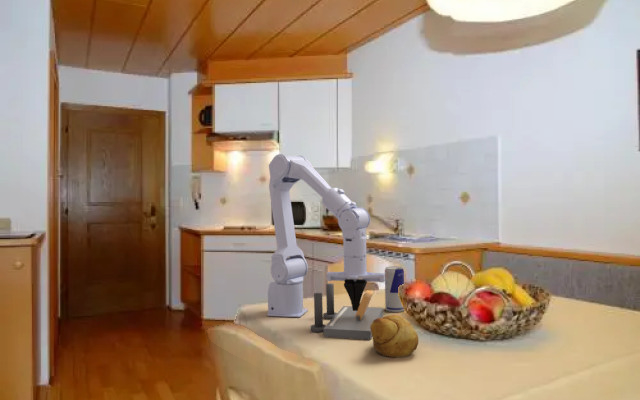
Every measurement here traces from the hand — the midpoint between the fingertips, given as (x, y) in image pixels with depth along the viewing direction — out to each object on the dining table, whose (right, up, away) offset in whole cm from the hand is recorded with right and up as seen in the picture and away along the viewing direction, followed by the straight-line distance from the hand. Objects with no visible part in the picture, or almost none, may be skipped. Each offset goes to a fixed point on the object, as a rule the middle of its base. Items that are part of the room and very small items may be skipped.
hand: (356, 309), depth 120 cm
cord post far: (-6, -4, +8) cm, 11 cm away
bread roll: (+7, -4, -19) cm, 20 cm away
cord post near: (-9, -4, -4) cm, 11 cm away
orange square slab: (+1, -2, 0) cm, 2 cm away
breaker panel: (0, -4, 0) cm, 4 cm away
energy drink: (+12, -4, +14) cm, 19 cm away
